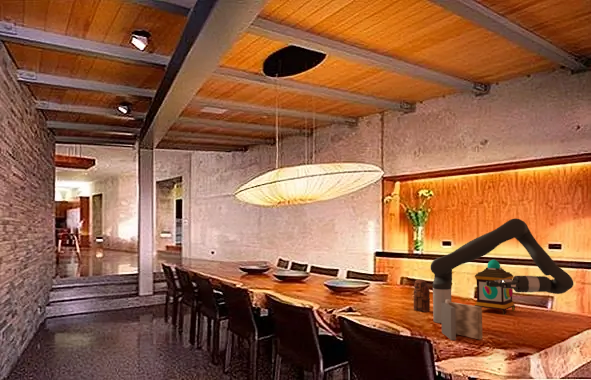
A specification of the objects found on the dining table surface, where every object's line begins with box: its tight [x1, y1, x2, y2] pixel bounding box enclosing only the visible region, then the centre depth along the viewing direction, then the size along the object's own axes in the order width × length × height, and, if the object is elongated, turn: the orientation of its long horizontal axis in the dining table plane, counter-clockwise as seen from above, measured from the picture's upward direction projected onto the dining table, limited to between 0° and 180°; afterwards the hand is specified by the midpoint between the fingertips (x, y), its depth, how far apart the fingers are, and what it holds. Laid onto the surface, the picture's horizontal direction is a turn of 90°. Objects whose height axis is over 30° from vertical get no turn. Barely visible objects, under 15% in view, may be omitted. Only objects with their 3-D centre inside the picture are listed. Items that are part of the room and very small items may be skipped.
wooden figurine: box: [413, 279, 431, 313], centre depth 278 cm, size 12×6×18 cm, turn 33°
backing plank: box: [441, 299, 457, 341], centre depth 218 cm, size 17×5×15 cm, turn 0°
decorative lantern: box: [474, 259, 516, 316], centre depth 278 cm, size 20×20×30 cm
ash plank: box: [449, 301, 484, 340], centre depth 216 cm, size 16×2×14 cm, turn 35°
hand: (488, 283), depth 215 cm, fingers closed
